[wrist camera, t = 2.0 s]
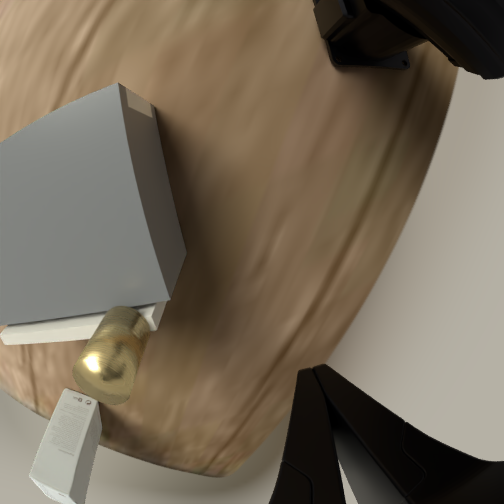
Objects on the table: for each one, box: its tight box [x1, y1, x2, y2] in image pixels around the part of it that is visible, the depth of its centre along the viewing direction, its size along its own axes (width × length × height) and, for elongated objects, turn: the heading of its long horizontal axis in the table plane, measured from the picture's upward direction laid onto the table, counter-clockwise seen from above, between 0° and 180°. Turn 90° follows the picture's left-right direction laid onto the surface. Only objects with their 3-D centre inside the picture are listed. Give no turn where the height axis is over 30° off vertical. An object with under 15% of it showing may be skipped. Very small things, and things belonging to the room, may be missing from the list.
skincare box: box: [29, 388, 102, 504], centre depth 18 cm, size 6×4×12 cm
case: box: [0, 83, 187, 326], centre depth 14 cm, size 14×10×6 cm
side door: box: [0, 301, 167, 405], centre depth 14 cm, size 12×2×11 cm, turn 100°
